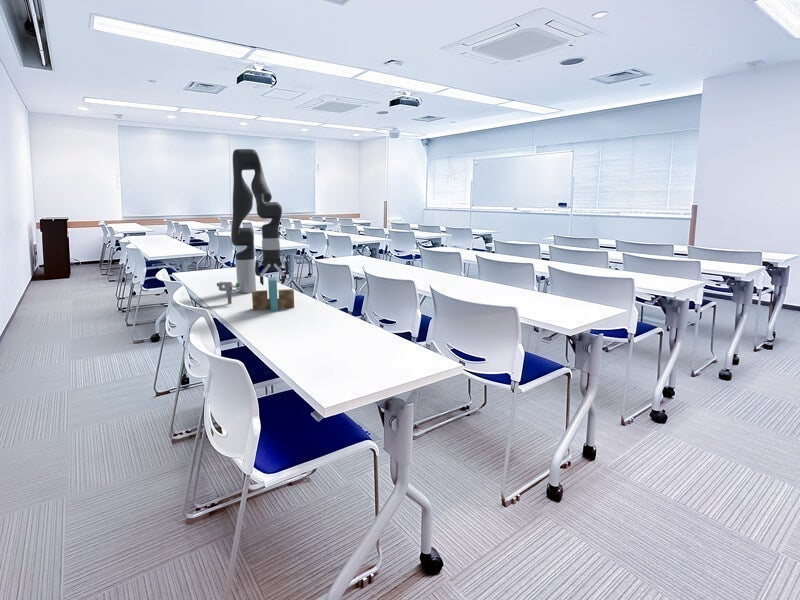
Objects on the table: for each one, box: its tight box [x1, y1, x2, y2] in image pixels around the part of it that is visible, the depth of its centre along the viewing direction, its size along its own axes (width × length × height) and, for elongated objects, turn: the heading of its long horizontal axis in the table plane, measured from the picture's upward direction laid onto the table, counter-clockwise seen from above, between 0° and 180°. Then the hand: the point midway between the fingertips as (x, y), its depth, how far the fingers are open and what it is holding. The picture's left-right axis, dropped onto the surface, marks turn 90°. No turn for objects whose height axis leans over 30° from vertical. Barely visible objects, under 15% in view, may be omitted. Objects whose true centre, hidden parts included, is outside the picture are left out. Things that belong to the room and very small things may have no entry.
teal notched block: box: [267, 276, 279, 312], centre depth 213 cm, size 12×3×13 cm, turn 18°
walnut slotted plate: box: [251, 288, 295, 311], centre depth 214 cm, size 18×3×8 cm, turn 108°
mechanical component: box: [216, 281, 240, 305], centre depth 221 cm, size 3×10×10 cm, turn 89°
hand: (272, 284), depth 213 cm, fingers open, 8 cm apart
